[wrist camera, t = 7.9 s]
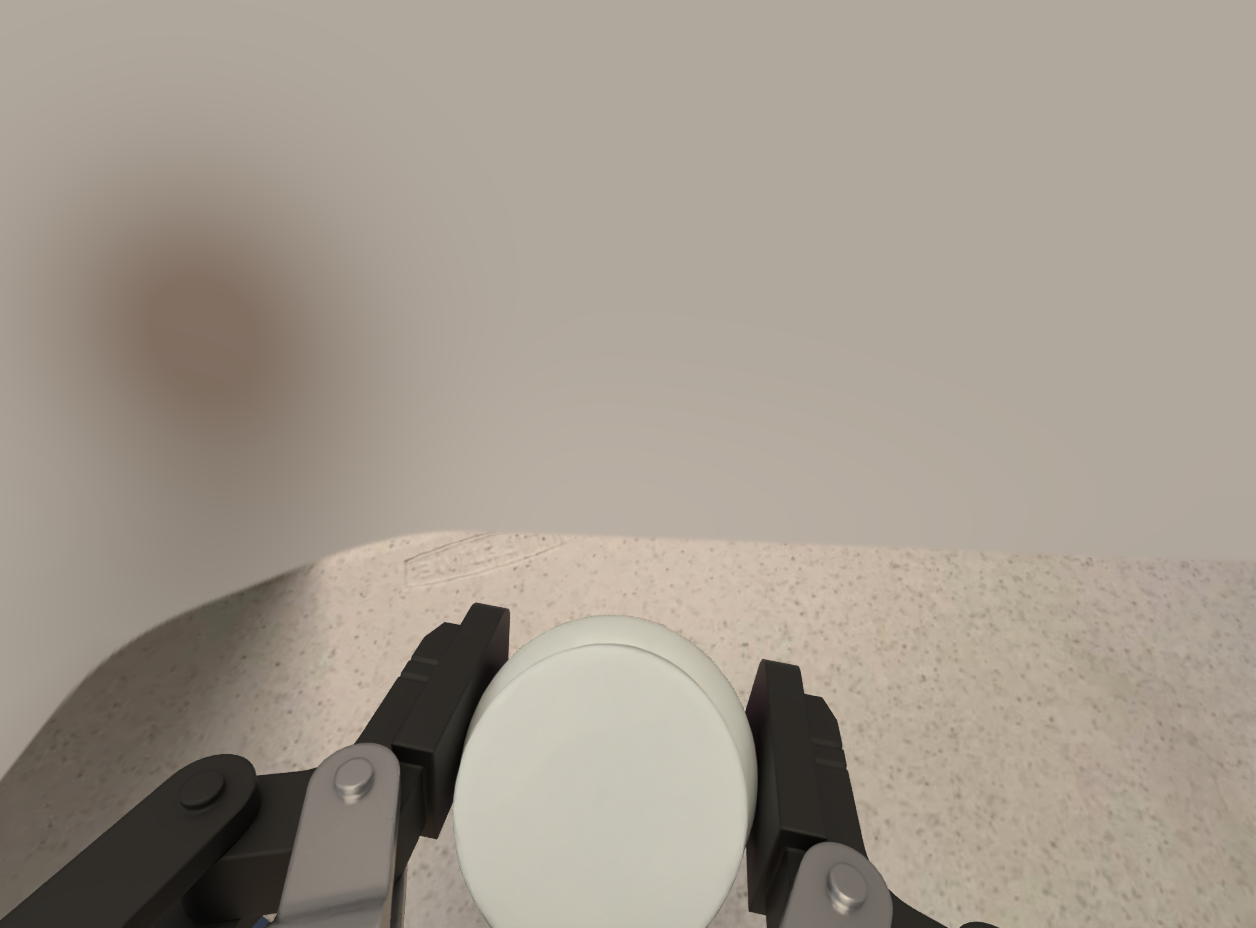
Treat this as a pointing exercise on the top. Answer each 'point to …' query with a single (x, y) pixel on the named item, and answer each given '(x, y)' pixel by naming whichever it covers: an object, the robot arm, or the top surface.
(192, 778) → the robot arm
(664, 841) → the pill bottle
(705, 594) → the top surface
